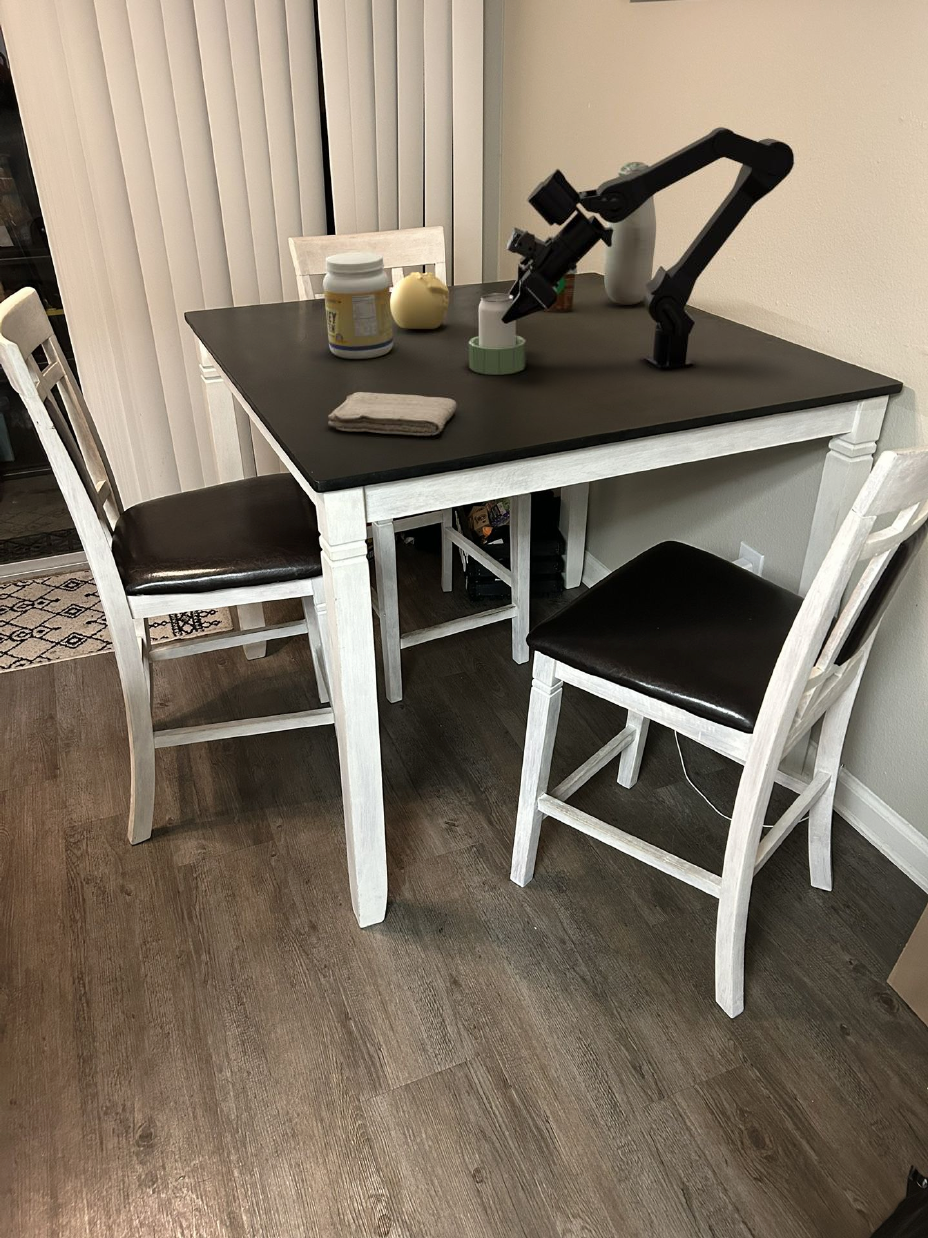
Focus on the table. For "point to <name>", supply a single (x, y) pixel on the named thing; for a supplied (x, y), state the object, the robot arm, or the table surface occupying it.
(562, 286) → the food container
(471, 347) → the segmented ring
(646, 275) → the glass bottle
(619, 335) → the table surface
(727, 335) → the table surface
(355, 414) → the washcloth
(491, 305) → the can
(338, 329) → the supplement tub
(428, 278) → the sculpture
